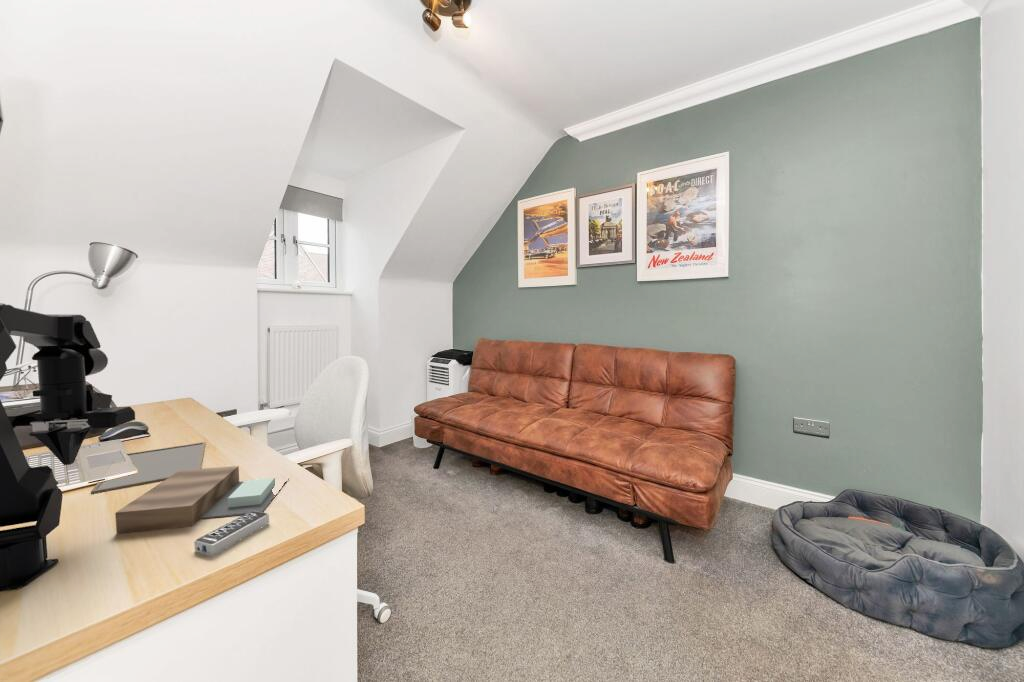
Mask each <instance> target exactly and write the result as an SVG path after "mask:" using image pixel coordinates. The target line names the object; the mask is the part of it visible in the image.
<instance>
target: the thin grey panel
mask: <svg viewBox="0 0 1024 682" xmlns="http://www.w3.org/2000/svg"><path fill="white" fill-rule="evenodd" d="M205 448H206V442H205V441H204V442H202V441H201V442H196V443H190V444H183V445H177V446H171V447H163V448H157V449H150V450H143V451H137V452H129V453H126V454H127V455H128V456H129V457H130V459H131V461H132V464H133V465H134V466H135V467H136V468H137V469H138V473H136V474H134V475H130V476H125V477H121V478H118V479H114V480H109V481H106V482H103V483H102V482H100V483H98V482H97V483H96V484H95V486H94V487H93V489H91V491H90V494H91V495H93V494H99V493H104V492H108V491H114V490H120V489H124V488H125V489H126V488H131V487H135V486H142V485H147V484H152V483H158V482H159V483H160V482H163V481H164V480H166V479H168V478H169V477H171V476H172V475H174V474H175V473H177V472H178V471H180V470H191V469H202V466H203V460H204V455H205Z"/></svg>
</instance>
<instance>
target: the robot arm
mask: <svg viewBox="0 0 1024 682" xmlns="http://www.w3.org/2000/svg"><path fill="white" fill-rule="evenodd" d="M12 336H14V337H22V340H23V342H25V343H27V344H30V345H31V346H33V347H35V348H37V350H38V351H36V352H34V354H33V355H32V357H31V360H32V361H36V363H37V375H38V376H37V378H38V388H39V389H35V390H32V397H39V401H40V409H37V410H33V409H32V410H17V411H11V412H8V413H7V412H6V409H5V407H4V405H3V402H2V400H1V399H0V528H2V527H10V526H15V525H22V524H27V523H35V524H32V525H26V526H25V525H24V526H20V527H14V528H8V529H3V530H0V591H6V590H12V589H13V590H14V589H19V588H22V587H24V586H25V585H27V584H28V583H30V582H31V581H33V580H34V579H36V578H37V577H38V576H40V575H42V574H43V573H45V572H47V570H49V569H51V568H52V567H53V566H55V565H56V564H58V563H59V558H50V559H48V547H47V545H48V544H47V543H48V542H47V536H48V535H49V534H50V533H51V532H53V531H54V530H55V529H56V528H57V527H58V526H59V525H60V521H61V512H62V504H63V492H62V489H60V488H59V487H58V484H59V482H58V481H57V480H56V478H55V475H54V471H53V469H52V467H49V466H48V465H41V466H34V467H32V466H30V464H29V463H28V460H27V458H26V456H25V453H24V450H23V449H22V446H21V444H20V442H19V440H18V436H17V435H16V432H15V428H17V427H28V426H29V427H31V428H32V431H31V432H29V433H28V436H29V437H35V438H36V440H38V441H39V442H41V443H42V444H43V445H44V446H45V447H46V448H47V449H49V451H50V452H51V453H52V454H53V455H54V457H56V459H58V460H59V461H60V462H61V463H62V465H64V466H70V465H72V464H74V463H75V461H76V459H77V456H78V454H79V452H80V450H81V447H82V444H83V442H84V440H85V439H86V437H87V435H88V434H89V433H90V431H92V429H109V428H110V429H111V428H115V427H119V426H121V425H124V424H128V423H130V422H133V421H135V420H136V411H135V410H134V409H133V408H132V407H131V406H113V407H111V406H112V405H111V404H112V400H113V399H112V398H113V394H107V393H103V392H96V391H94V387H93V385H92V384H87V382H86V381H87V379H86V377H88V376H92V375H95V374H98V373H100V372H102V371H104V370H105V368H106V367H107V366H108V364H109V358H108V357H107V355H106V353H105V352H104V351H103V350H101V347H102V346H101V343H100V341H99V339H98V337H97V334H96V332H95V330H94V328H93V325H92V323H91V322H90V321H89V320H87V318H86V316H84V315H82V314H44V313H40V312H37V311H31V310H27V309H24V308H23V309H22V308H18V307H14V306H13V305H11V304H6V303H3V302H0V382H1V380H2V379H3V377H4V376H5V374H6V372H7V371H8V367H7V364H6V362H8V359H10V357H11V356H12V354H13V353H14V351H15V350H16V349H17V344H16V343H15V341H14V339H13V338H12Z"/></svg>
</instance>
